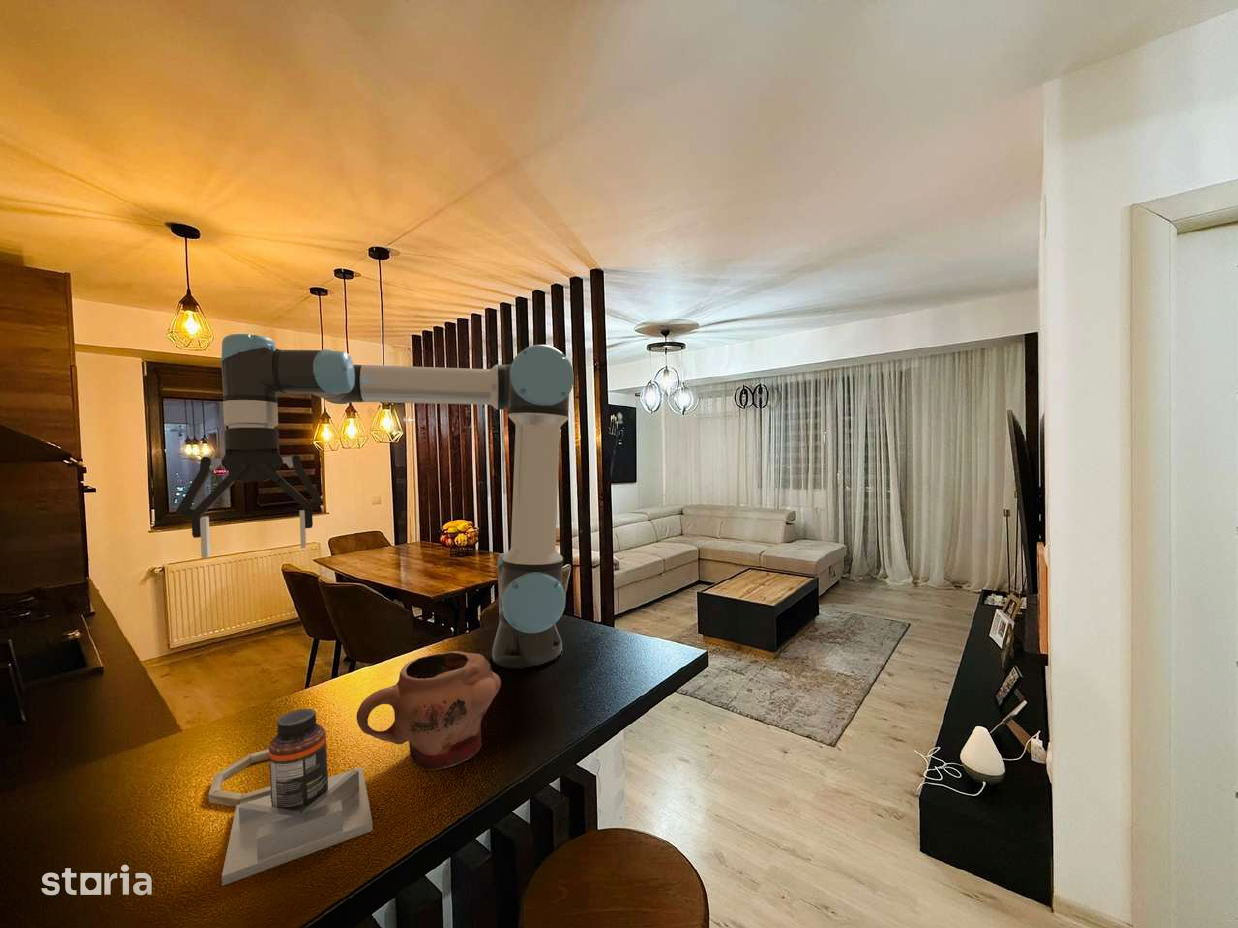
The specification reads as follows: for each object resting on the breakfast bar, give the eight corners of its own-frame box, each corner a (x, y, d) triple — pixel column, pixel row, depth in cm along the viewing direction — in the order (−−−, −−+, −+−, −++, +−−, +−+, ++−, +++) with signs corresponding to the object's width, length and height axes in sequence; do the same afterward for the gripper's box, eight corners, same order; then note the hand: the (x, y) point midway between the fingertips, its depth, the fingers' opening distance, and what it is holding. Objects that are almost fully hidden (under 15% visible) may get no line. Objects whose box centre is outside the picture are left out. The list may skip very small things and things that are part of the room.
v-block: (236, 813, 63) (235, 785, 63) (362, 773, 71) (361, 748, 71) (222, 885, 52) (220, 851, 52) (372, 830, 60) (371, 800, 60)
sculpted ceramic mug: (373, 811, 63) (369, 699, 63) (349, 768, 72) (345, 670, 72) (517, 748, 76) (514, 655, 76) (481, 718, 85) (478, 635, 85)
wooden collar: (315, 742, 79) (315, 736, 79) (317, 783, 69) (316, 775, 69) (218, 769, 73) (218, 762, 73) (203, 818, 63) (203, 810, 63)
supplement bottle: (293, 791, 66) (290, 703, 66) (338, 790, 66) (335, 703, 65) (259, 824, 60) (255, 728, 60) (308, 824, 60) (304, 727, 60)
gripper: (334, 429, 97) (338, 541, 97) (160, 429, 84) (165, 558, 84) (336, 426, 90) (340, 546, 90) (148, 425, 77) (154, 565, 77)
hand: (256, 552), depth 87 cm, fingers open, 13 cm apart
